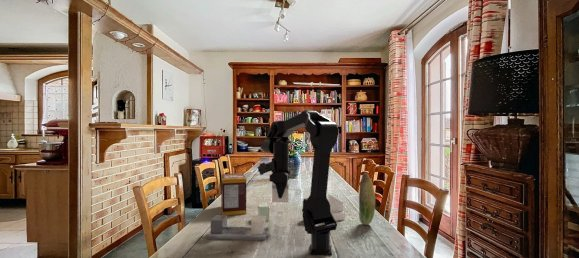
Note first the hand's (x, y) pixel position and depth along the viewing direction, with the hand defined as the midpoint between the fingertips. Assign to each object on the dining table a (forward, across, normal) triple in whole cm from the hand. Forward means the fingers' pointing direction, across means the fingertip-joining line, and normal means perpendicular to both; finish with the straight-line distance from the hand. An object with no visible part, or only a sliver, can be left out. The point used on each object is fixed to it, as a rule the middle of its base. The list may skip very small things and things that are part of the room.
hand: (280, 196), depth 109 cm
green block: (+12, -10, -8) cm, 17 cm away
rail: (+12, +8, -14) cm, 20 cm away
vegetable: (+12, -6, +33) cm, 36 cm away
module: (+2, 0, 0) cm, 2 cm away
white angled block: (+12, -13, +22) cm, 28 cm away
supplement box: (+12, -23, -24) cm, 35 cm away
